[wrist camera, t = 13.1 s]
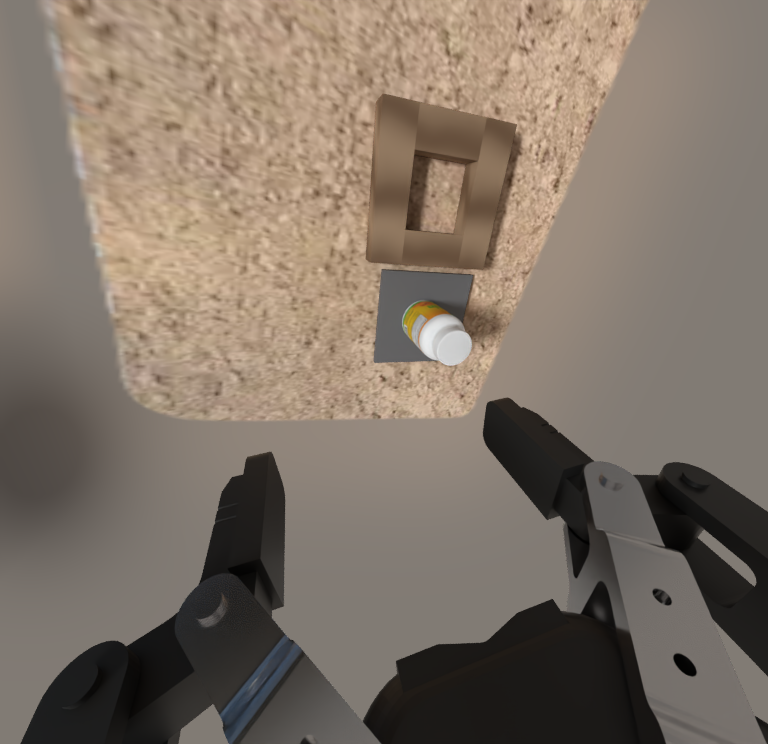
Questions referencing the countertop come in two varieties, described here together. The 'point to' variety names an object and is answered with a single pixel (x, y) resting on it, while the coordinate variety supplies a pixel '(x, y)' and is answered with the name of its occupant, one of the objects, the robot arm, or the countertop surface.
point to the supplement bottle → (436, 332)
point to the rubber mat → (403, 292)
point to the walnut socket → (445, 142)
